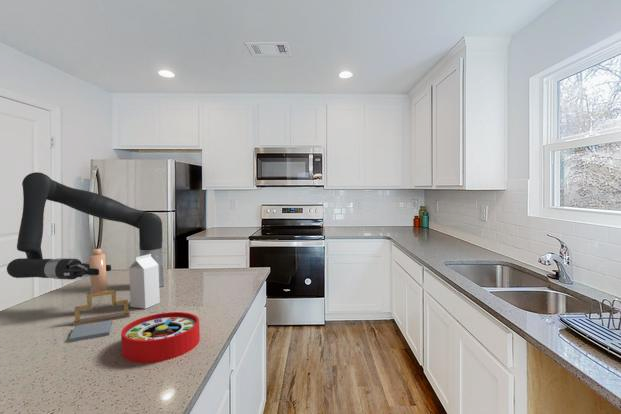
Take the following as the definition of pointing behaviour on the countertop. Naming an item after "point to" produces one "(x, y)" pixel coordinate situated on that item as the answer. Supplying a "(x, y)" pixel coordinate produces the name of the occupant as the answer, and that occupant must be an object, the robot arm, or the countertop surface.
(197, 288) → the countertop surface
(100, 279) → the peach bottle
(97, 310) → the countertop surface
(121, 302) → the golden stepped frame
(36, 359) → the countertop surface
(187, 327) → the toy clock
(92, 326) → the pad
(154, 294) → the milk carton
